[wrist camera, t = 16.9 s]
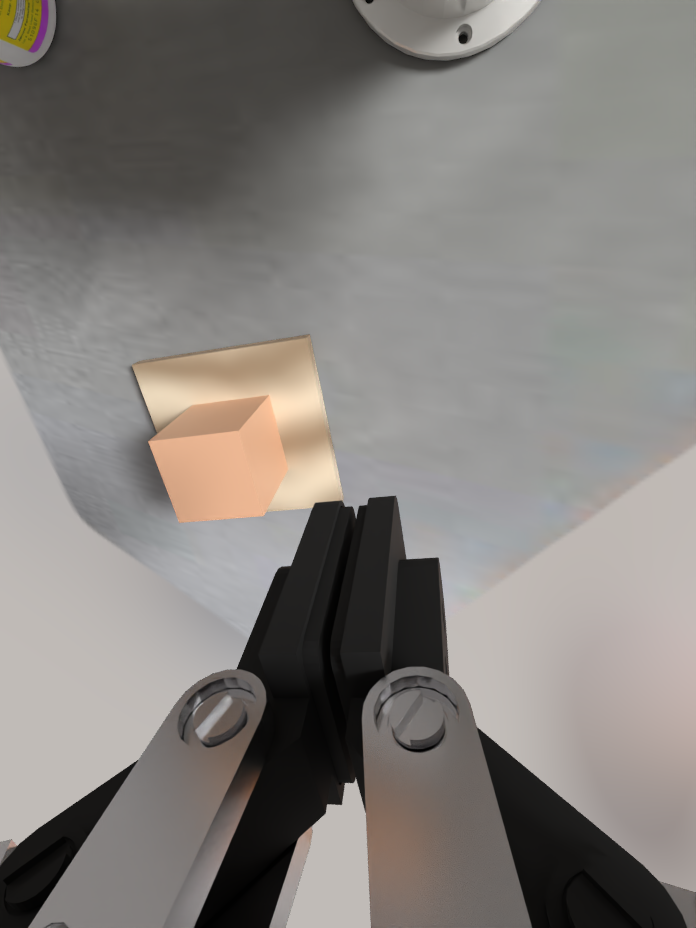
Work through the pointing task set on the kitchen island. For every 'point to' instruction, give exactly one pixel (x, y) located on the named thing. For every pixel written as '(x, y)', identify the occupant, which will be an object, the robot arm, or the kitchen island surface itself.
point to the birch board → (251, 375)
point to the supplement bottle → (25, 30)
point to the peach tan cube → (221, 459)
